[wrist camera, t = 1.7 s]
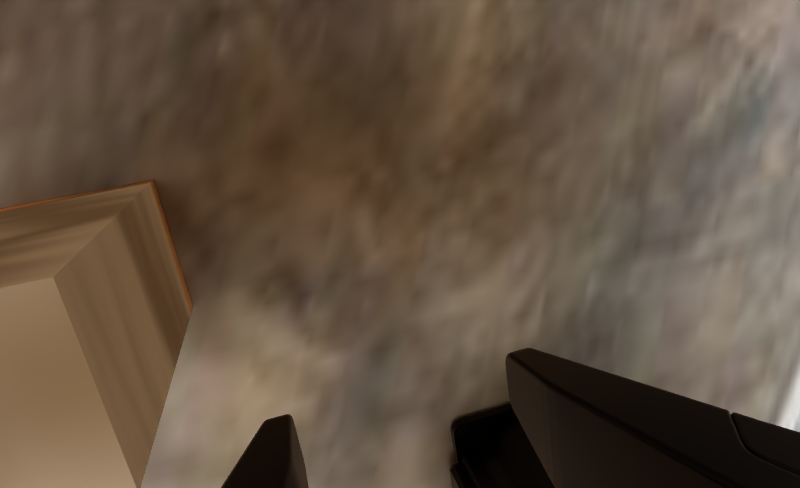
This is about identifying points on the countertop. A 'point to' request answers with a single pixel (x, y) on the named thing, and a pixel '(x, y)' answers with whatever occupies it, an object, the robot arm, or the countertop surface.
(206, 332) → the countertop surface
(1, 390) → the birch block
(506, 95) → the countertop surface
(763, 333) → the countertop surface
